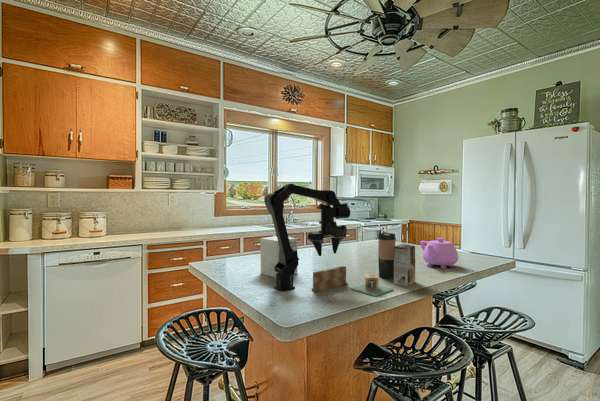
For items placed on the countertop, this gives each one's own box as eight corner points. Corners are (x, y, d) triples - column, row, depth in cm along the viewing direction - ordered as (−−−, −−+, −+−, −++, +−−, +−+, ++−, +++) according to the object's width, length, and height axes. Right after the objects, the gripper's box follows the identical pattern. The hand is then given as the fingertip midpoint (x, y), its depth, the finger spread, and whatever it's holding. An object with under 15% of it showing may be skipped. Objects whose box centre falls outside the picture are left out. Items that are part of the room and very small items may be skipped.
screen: (317, 293, 124) (317, 273, 124) (310, 290, 127) (310, 271, 127) (348, 284, 136) (348, 266, 135) (341, 282, 139) (341, 265, 138)
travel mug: (398, 278, 146) (399, 234, 145) (385, 279, 143) (385, 235, 143) (388, 274, 153) (388, 232, 152) (375, 275, 150) (375, 233, 150)
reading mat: (375, 296, 119) (375, 295, 119) (350, 289, 128) (350, 288, 128) (393, 290, 127) (393, 288, 127) (369, 284, 136) (369, 282, 136)
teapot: (408, 265, 171) (408, 237, 171) (427, 260, 184) (427, 234, 184) (444, 272, 156) (445, 241, 156) (462, 266, 169) (462, 238, 169)
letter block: (365, 290, 125) (365, 277, 125) (365, 286, 130) (365, 274, 130) (378, 291, 124) (378, 278, 124) (378, 287, 129) (378, 274, 129)
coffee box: (401, 279, 143) (401, 243, 143) (415, 282, 139) (415, 245, 139) (393, 284, 136) (393, 246, 136) (408, 286, 132) (408, 247, 132)
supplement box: (298, 273, 154) (298, 237, 154) (277, 278, 145) (277, 240, 145) (280, 269, 164) (280, 235, 164) (259, 273, 155) (259, 237, 154)
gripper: (325, 221, 127) (325, 260, 127) (355, 219, 139) (355, 254, 139) (306, 219, 135) (306, 256, 135) (336, 217, 147) (336, 251, 148)
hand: (327, 254), depth 139 cm, fingers open, 9 cm apart
